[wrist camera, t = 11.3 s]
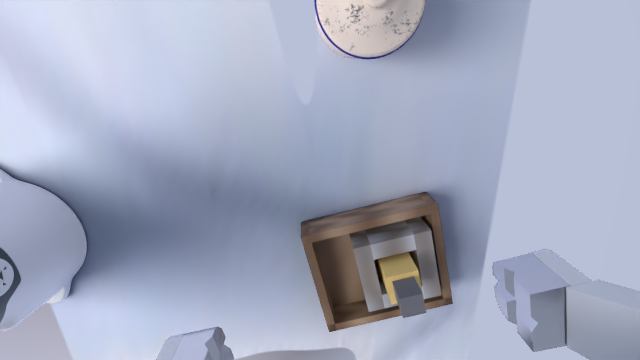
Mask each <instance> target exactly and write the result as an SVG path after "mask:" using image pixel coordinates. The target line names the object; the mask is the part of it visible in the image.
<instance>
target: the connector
mask: <svg viewBox="0 0 640 360" xmlns="http://www.w3.org/2000/svg"><path fill="white" fill-rule="evenodd" d="M377 263H378V268H379V271H380V274H381V277H382V279H383V282H384V285H385V288H386V291H387V293H388V296H389V299H390V302H391V305H392V304H397V303H398V306H399V308H400V311H401V314H402V316H403V318H405V317H410V316H414V315H418V314H423V313H426V309H425V303H424V298H423V293H422V288H421V282H420V277H419V271H418V269H417V267H416V265H415V263H414V262H413V260H412V258H411V256H410V254H409V252H405V253H400V254H396V255H392V256H388V257H384V258H379V259H377Z"/></svg>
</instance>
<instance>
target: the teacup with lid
mask: <svg viewBox="0 0 640 360" xmlns="http://www.w3.org/2000/svg"><path fill="white" fill-rule="evenodd" d="M425 1H426V0H315V20H316V25H317V29H318V32H319V34H320V36H321V38H322V40H323V41H324V42H325V44H326V45H327V46H328V47H329V48H330V49H332V50H333V51H334V52H336V53H337V54H340V55H342V56H345V57H349V58H361V59H375V58H380V57H384V56H386V55H389V54H391V53H393V52H395V51H396V50H398V49H399V48H401V47H402V46H403V45H404V44H405V43H406V42H407V41H408V40H409V39H410V38H411V37H412V35H413V34H414V32H415V31H416V29H417V27H418V25H419V23H420V21H421V19H422V16H423V12H424V8H425Z"/></svg>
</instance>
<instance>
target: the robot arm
mask: <svg viewBox="0 0 640 360" xmlns="http://www.w3.org/2000/svg"><path fill="white" fill-rule="evenodd" d="M86 252H87V241H86V236H85V232H84V229H83V227H82V225H81V223H80V221H79V219H78V218H77V216H76V215H75V213H74V212H73V211H72V210H71V209H70V208H69V207H68V205H66V204H65V203H64V202H63V201H62V200H61V199H60V198H58V197H57V196H55V195H54V194H52V193H51V192H49V191H47V190H45V189H43V188H41V187H38V186H36V185H33V184H29V183H26V182H23V181H19V180H17V179H14V178H12V177H11V176H10V175H8V174H7V173H5V172H4V171H2V170H1V169H0V331H1V330H4V331H7V330H9V329H12V328H13V327H15V326H16V325H17V324H19V323H20V322H21V321H23V320H24V319H25V318H27V317H28V316H29V315H30V314H32V313H33V312H34V311H36V310H37V309H38V308H39V307H41V306H42V305H43V304H44V303H57V302H60V301H62V300H63V299H65V298H66V297H67V296H68V294H69V292H70V287H71V280H72V278H73V277H74V275H75V274H76V273H77V272H78V270H79V269H80V268H81V266H82V264H83V262H84V260H85V257H86ZM492 269H493V275H494V276H495V277H496V279H497V280H498V282H497V284H496V285H495V287H494V289H495V297H496V300H497V302H498V305H499V308H500V310H501V311H502V313H503V315H504V316H505V317H506V319H507V320H508V321H510V322H512V323H514V324H517V329H518V334H519V335H520V336H521V337H522V339H523V340H524V341H525V342H526V344H527V345H528V346H529V347H530V349H531V350H532V351H533V352H535V351H541V350H546V349H552V348H557V347H562V346H567V347H568V348H569V349H571V350H573V351H575V352H577V353H579V354H580V355H582V356H584V357H586V358H588V359H589V360H640V291H637V290H633V289H630V288H626V287H622V286H619V285H615V284H612V283H608V282H605V281H601V280H595V281H592V280H591V279H589V278H588V277H586V276H585V275H584V274H582V273H581V272H579V271H578V270H577V269H576V268H574V267H573V266H571V265H570V264H569V263H567V262H566V261H565V260H564V259H562V258H561V257H559V256H558V255H557V254H555V253H554V252H553V251H551V250H549V249H543V250H539V251H535V252H531V253H529V254H526V255H522V256H518V257H514V258H509V259H506V260H501V261H497V262H493V266H492ZM224 340H225V335H224V333H223V331H222V328H220V327H214V328H209V329H204V330H200V331H195V332H190V333H186V334H181V335H177V336H173V337H170V338H168V339H167V340H166V341H165V343H164V345H163V347H162V349H161V351H160V353H159V355H158V357H157V359H156V360H234V357H233V354H232V351H231V349H230V348H229V347H227V346H226V345H224Z"/></svg>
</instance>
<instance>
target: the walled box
mask: <svg viewBox="0 0 640 360" xmlns="http://www.w3.org/2000/svg"><path fill="white" fill-rule="evenodd" d="M301 239H302V243H303V246H304V249H305V253H306V256H307V259H308V263H309V266H310V269H311V273H312V276H313V279H314V283H315V286H316V289H317V293H318V296H319V299H320V303H321V306H322V309H323V313H324V316H325V319H326V323H327V326H328V329H329V332H332V331H336V330H340V329H345V328H349V327H353V326H358V325H362V324H366V323H371V322H375V321H379V320H384V319H388V318H392V317H397V316H401V315H402V314H401V311H400V308H399V306H398V303H397V304H392V305H391V302H390V299H389V296H388V293H387V291H386V288H385V285H384V282H383V279H382V277H381V274H380V271H379V268H378V263H377V259H379V258H384V257H388V256H392V255H396V254H400V253H405V252H409V254H410V256H411V258H412V260H413V262H414V263H415V265H416V267H417V269H418V271H419V277H420V282H421V288H422V293H423V298H424V303H425V309H426V310H427V309H432V308H436V307H440V306H445V305H449V304H453V302H452V296H451V289H450V282H449V275H448V269H447V262H446V255H445V248H444V241H443V235H442V228H441V221H440V214H439V208H438V204H437V202H436V201H435V200H434V199H433V198H432V197H431V196H430V195H429V194H428V193H427V192H423V193H419V194H415V195H410V196H406V197H402V198H398V199H394V200H390V201H386V202H382V203H378V204H374V205H369V206H365V207H361V208H357V209H353V210H349V211H345V212H341V213H337V214H333V215H329V216H324V217H320V218H316V219H312V220H308V221H304V222H301Z"/></svg>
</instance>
